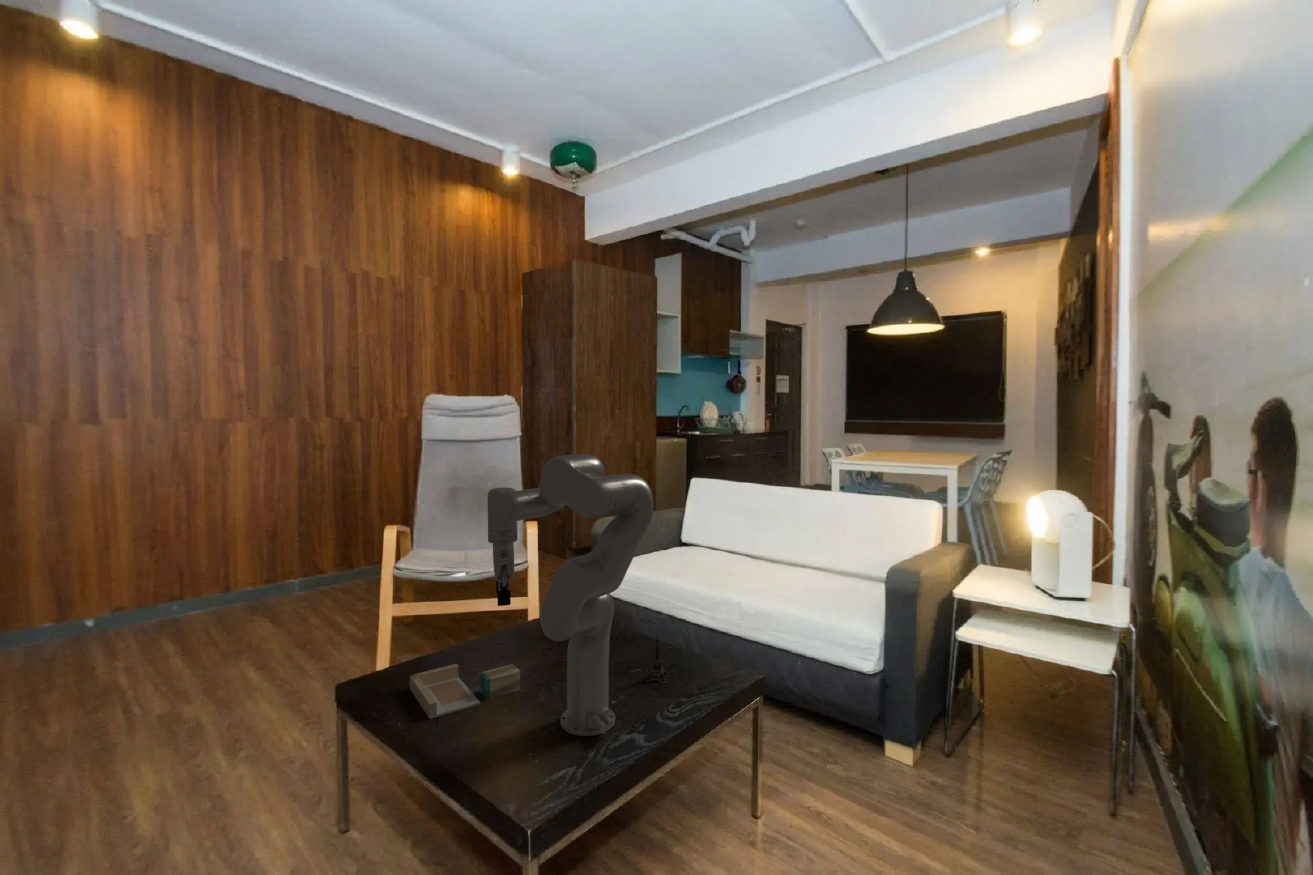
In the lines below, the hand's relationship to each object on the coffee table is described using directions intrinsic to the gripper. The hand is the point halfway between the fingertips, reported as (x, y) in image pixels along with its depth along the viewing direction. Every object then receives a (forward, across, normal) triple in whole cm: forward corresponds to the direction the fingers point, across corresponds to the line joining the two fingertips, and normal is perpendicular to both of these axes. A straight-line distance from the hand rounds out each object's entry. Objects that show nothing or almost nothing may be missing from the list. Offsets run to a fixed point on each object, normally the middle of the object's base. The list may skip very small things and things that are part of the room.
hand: (503, 599), depth 161 cm
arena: (+22, -6, +15) cm, 27 cm away
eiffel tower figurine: (+23, -10, -40) cm, 47 cm away
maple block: (+22, -6, +1) cm, 23 cm away
